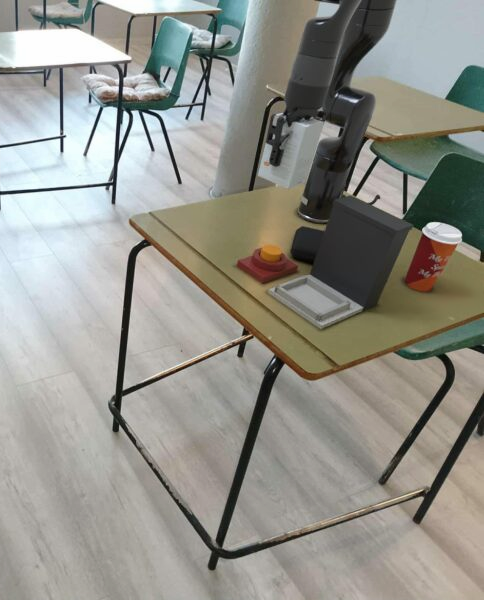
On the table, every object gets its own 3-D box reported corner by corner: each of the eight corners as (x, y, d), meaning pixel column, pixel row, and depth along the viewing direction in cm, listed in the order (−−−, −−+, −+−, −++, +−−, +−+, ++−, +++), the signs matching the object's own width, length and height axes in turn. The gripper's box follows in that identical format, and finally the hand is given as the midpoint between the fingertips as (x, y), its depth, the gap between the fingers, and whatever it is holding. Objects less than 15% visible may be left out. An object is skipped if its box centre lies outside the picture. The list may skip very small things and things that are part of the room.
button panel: (270, 255, 134) (273, 242, 132) (296, 271, 128) (300, 258, 126) (236, 266, 129) (239, 253, 127) (262, 284, 123) (266, 270, 121)
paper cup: (419, 297, 123) (447, 240, 115) (391, 278, 129) (416, 223, 121) (444, 290, 126) (473, 235, 118) (416, 272, 132) (442, 218, 124)
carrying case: (335, 271, 130) (338, 243, 141) (339, 260, 128) (342, 232, 139) (287, 259, 133) (294, 233, 144) (291, 248, 131) (298, 222, 142)
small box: (306, 183, 119) (325, 121, 111) (288, 190, 115) (306, 126, 108) (274, 170, 124) (291, 110, 116) (256, 176, 120) (272, 114, 113)
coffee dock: (322, 271, 129) (350, 195, 118) (377, 305, 120) (413, 224, 109) (267, 292, 121) (291, 211, 110) (321, 329, 111) (354, 245, 100)
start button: (269, 250, 129) (271, 242, 128) (284, 259, 126) (286, 251, 125) (255, 255, 127) (257, 247, 126) (270, 264, 124) (272, 256, 123)
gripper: (299, 87, 102) (275, 175, 111) (350, 81, 108) (323, 164, 118) (268, 76, 107) (248, 161, 117) (319, 72, 114) (296, 152, 123)
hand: (286, 162), depth 117 cm, fingers closed on small box, 6 cm apart
